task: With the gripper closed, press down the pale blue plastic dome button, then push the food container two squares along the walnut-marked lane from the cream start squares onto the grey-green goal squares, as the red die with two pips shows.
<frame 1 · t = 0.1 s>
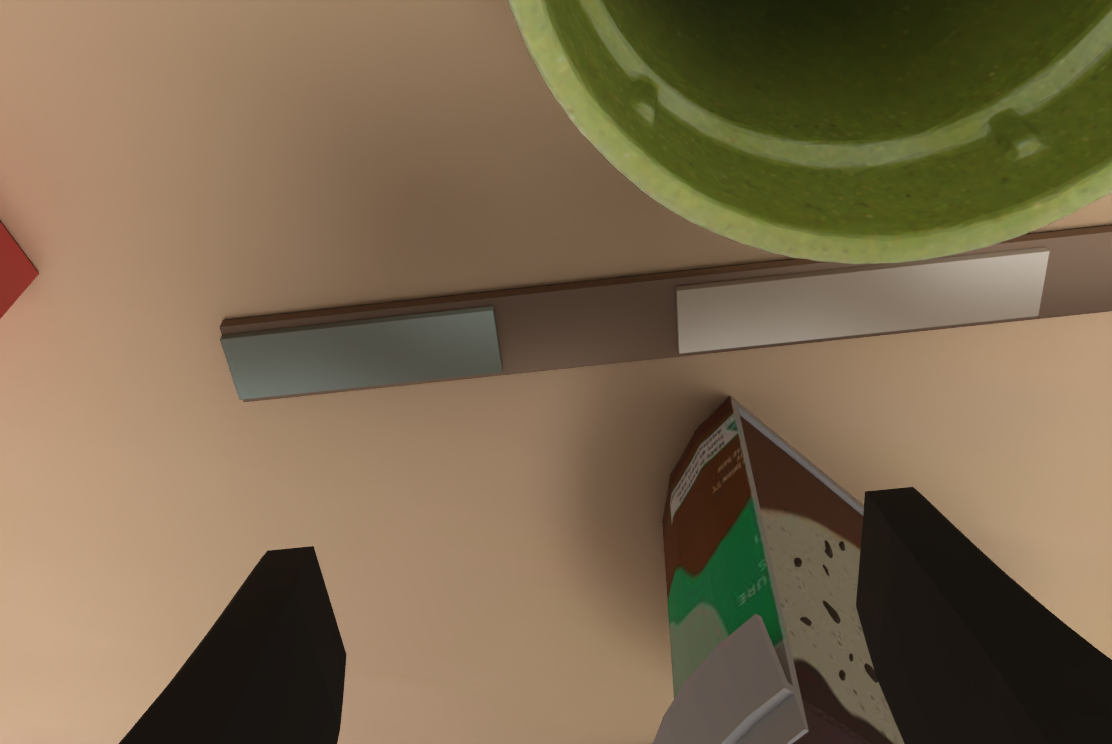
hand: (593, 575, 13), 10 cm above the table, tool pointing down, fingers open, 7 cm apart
food container: (759, 558, 27), on the table
game lane: (611, 580, 27), on the table
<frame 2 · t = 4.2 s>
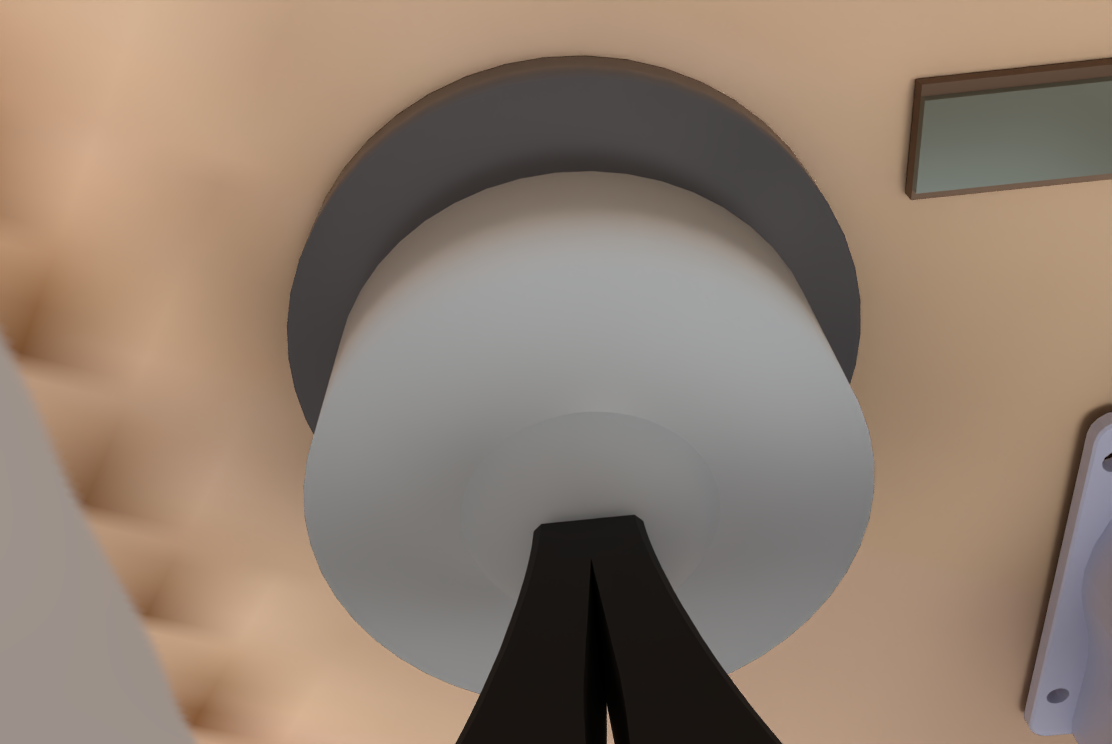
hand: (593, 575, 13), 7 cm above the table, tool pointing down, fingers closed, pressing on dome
dome: (586, 478, 15), point 4 cm above the table, slide at 0.0 cm, touching gripper
dark grey disc: (572, 327, 19), on the table
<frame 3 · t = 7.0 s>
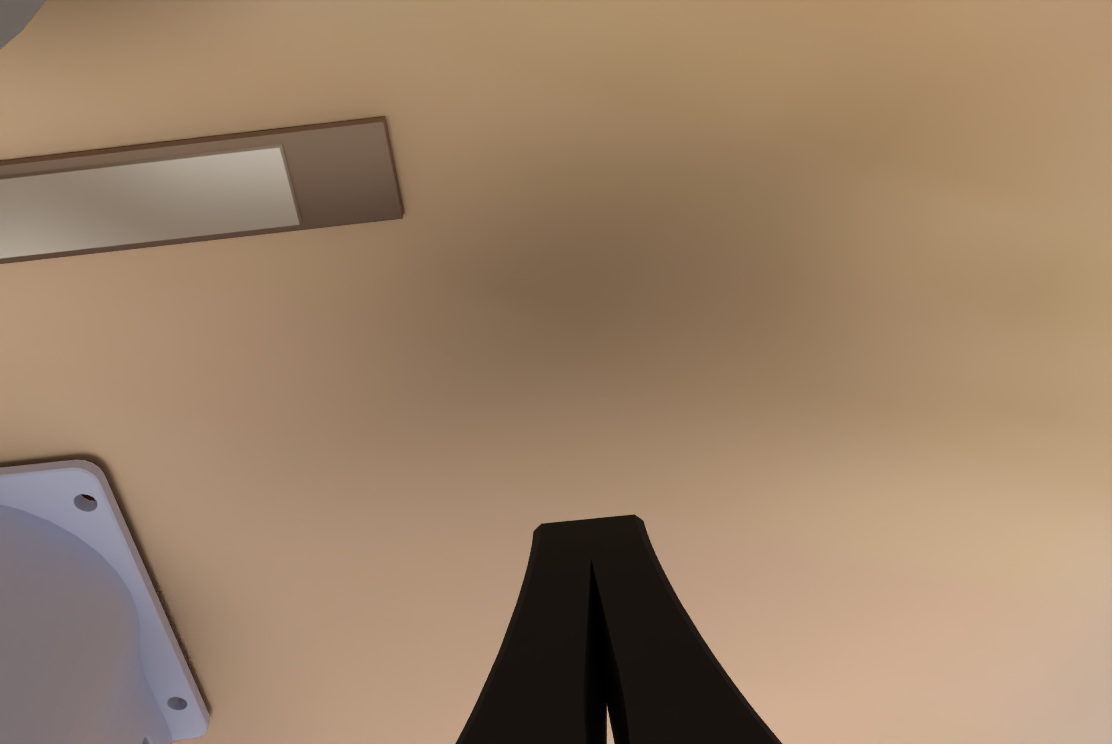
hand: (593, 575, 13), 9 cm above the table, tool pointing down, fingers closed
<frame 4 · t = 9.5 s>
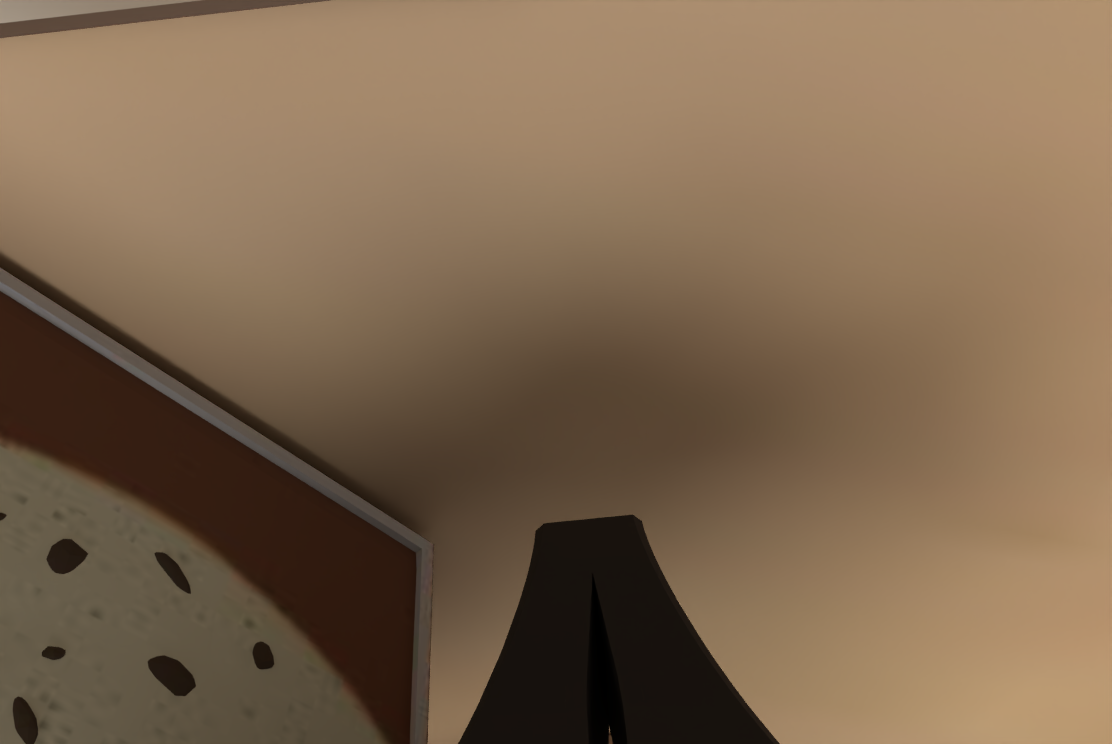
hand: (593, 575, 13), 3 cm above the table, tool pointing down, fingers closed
food container: (82, 491, 16), on the table
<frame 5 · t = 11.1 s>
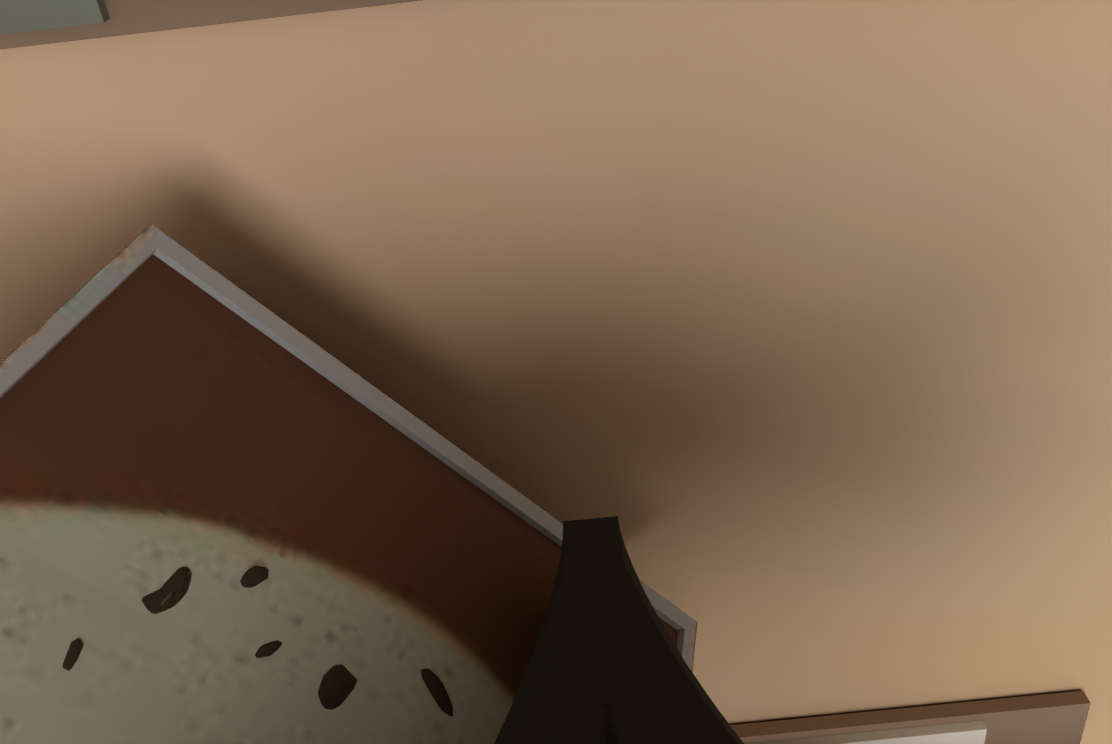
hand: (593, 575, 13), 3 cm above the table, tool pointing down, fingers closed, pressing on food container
food container: (348, 503, 16), point 1 cm above the table, touching gripper
game lane: (393, 467, 16), on the table
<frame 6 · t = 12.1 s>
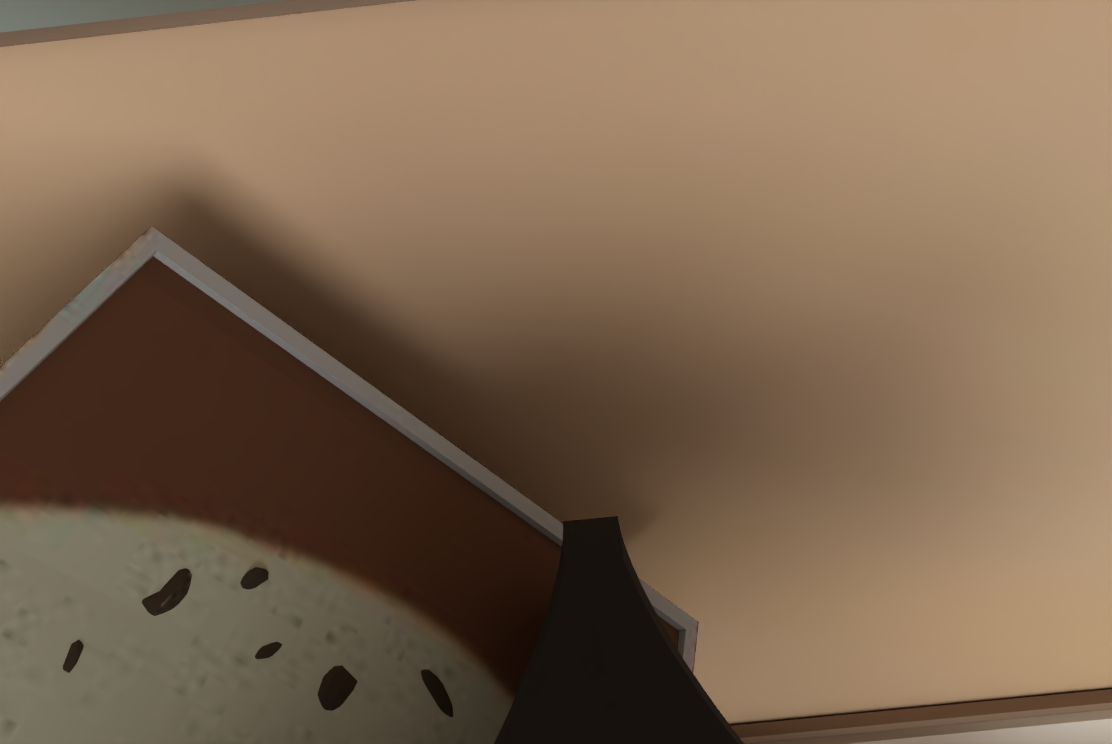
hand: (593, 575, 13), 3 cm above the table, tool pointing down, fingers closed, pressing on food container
food container: (350, 502, 16), point 1 cm above the table, touching gripper
game lane: (575, 448, 16), on the table
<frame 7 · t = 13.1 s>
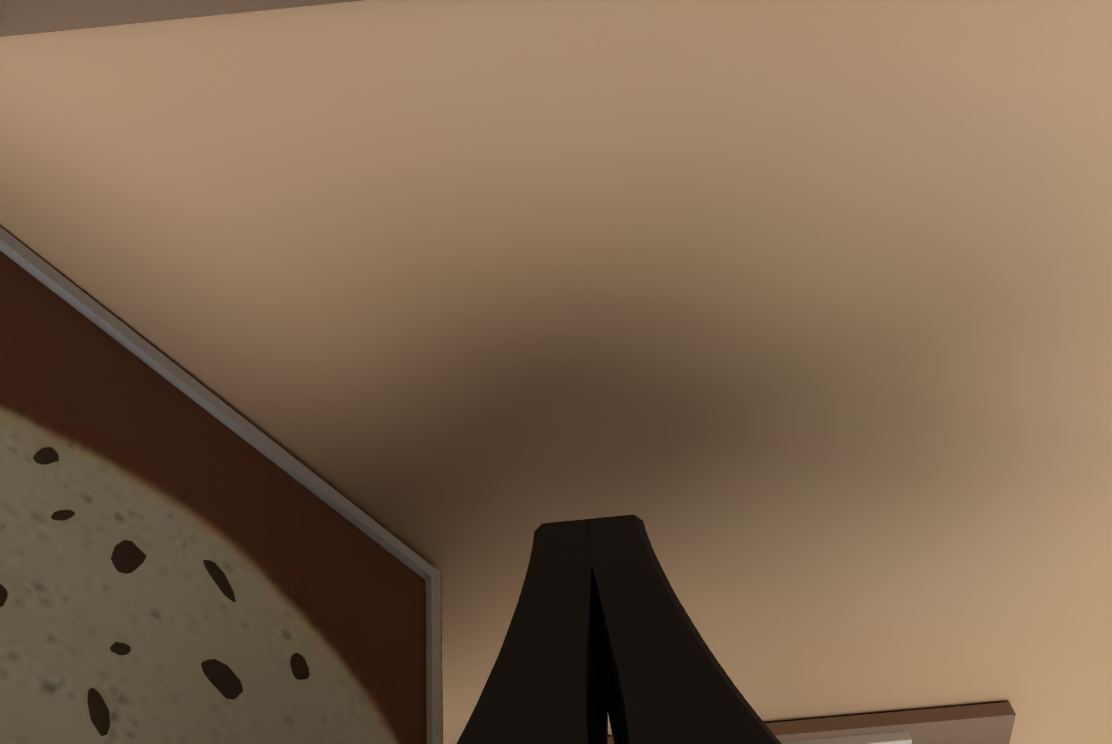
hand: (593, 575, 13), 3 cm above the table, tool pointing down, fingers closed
food container: (99, 500, 16), on the table, touching gripper
game lane: (308, 471, 16), on the table
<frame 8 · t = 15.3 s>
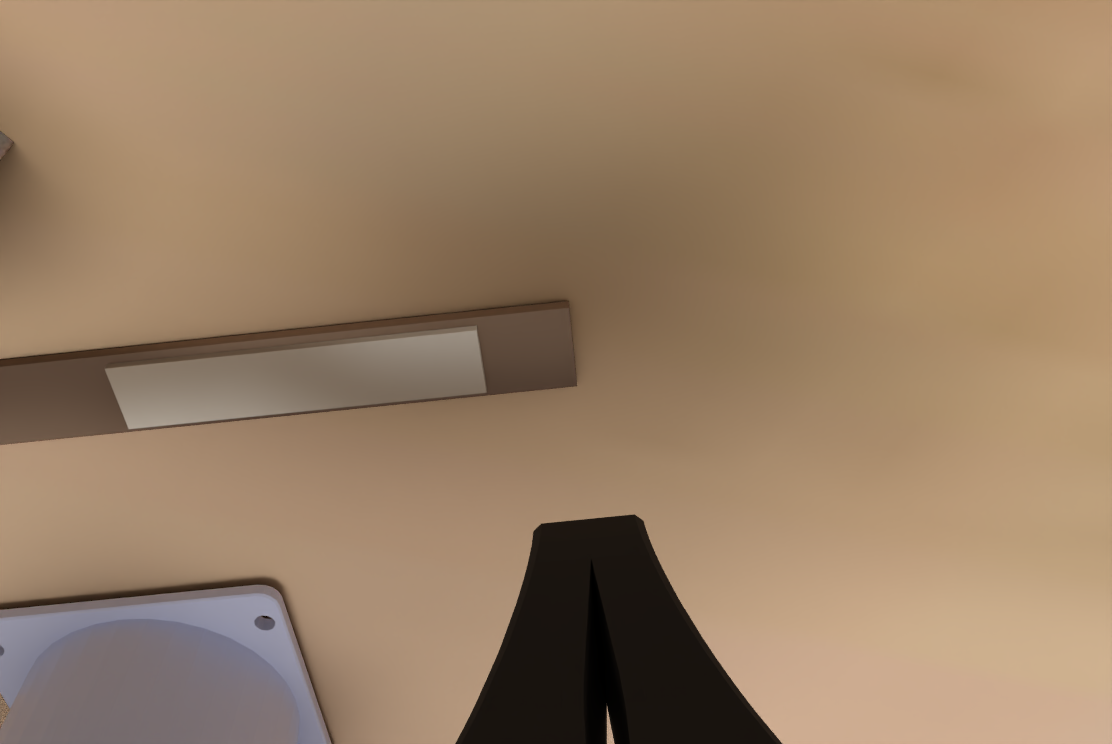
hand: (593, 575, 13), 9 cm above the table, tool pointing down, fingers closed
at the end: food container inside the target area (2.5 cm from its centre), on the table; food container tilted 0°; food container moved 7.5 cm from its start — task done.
